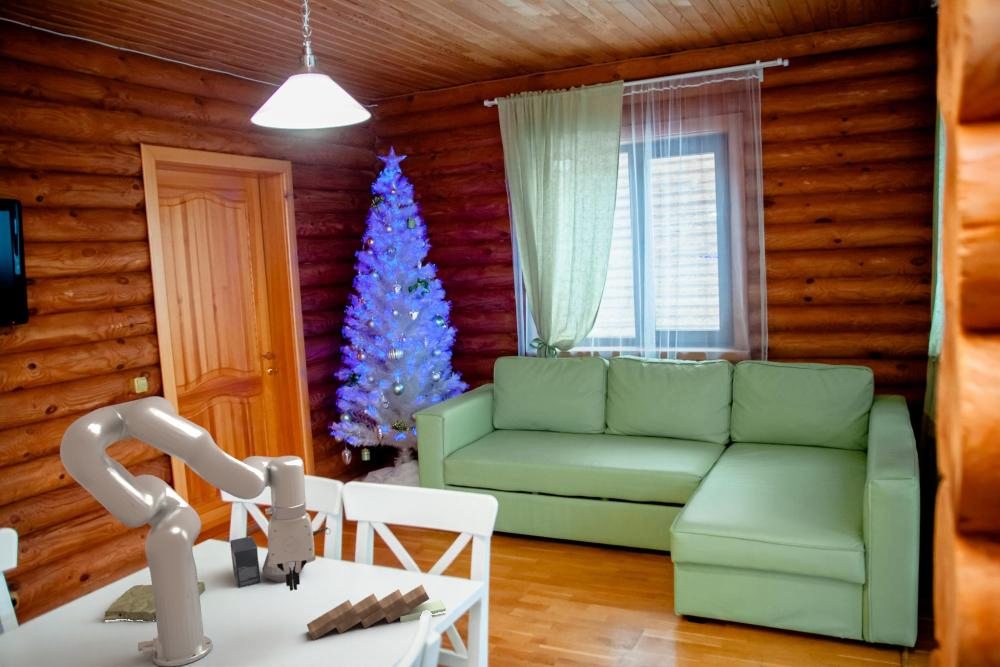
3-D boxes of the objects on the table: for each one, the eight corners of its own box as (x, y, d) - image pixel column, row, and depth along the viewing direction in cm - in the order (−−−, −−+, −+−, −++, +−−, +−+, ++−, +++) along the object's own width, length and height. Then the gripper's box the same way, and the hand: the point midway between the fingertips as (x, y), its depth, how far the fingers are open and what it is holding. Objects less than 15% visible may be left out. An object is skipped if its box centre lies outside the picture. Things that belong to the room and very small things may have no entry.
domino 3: (361, 621, 188) (402, 596, 190) (358, 613, 192) (398, 589, 195) (364, 628, 188) (406, 603, 191) (361, 620, 193) (402, 595, 195)
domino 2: (336, 627, 186) (378, 601, 189) (332, 618, 190) (373, 593, 194) (339, 633, 186) (381, 608, 189) (336, 625, 191) (376, 600, 194)
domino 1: (309, 633, 183) (353, 607, 187) (306, 624, 188) (348, 599, 191) (313, 640, 184) (356, 614, 187) (310, 631, 189) (352, 606, 192)
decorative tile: (133, 595, 218) (131, 583, 218) (206, 590, 218) (205, 578, 217) (99, 627, 199) (97, 613, 199) (179, 622, 199) (177, 608, 199)
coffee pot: (254, 583, 219) (249, 530, 218) (278, 567, 230) (273, 516, 229) (322, 589, 213) (317, 534, 211) (344, 572, 223) (339, 520, 222)
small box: (232, 575, 226) (228, 539, 225) (256, 570, 229) (252, 535, 228) (237, 588, 217) (233, 551, 216) (261, 583, 220) (258, 546, 218)
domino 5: (400, 617, 190) (445, 608, 193) (397, 608, 195) (441, 600, 198) (401, 625, 190) (446, 616, 193) (397, 616, 195) (441, 608, 198)
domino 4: (385, 616, 189) (426, 592, 192) (381, 608, 194) (421, 584, 196) (388, 623, 190) (429, 598, 192) (385, 614, 194) (425, 591, 197)
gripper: (255, 519, 177) (259, 599, 179) (323, 511, 181) (327, 589, 183) (254, 510, 184) (259, 586, 186) (320, 502, 188) (324, 577, 190)
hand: (293, 587), depth 184 cm, fingers closed
